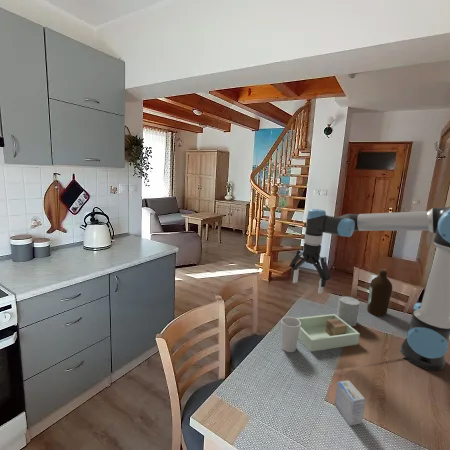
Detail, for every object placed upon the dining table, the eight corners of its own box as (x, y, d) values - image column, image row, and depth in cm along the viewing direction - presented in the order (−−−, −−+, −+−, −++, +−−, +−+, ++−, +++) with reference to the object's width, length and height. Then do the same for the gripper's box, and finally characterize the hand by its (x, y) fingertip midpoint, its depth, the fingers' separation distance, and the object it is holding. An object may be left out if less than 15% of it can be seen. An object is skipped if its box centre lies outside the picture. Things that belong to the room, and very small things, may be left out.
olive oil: (387, 311, 154) (395, 268, 149) (387, 319, 145) (395, 274, 140) (366, 305, 159) (373, 264, 154) (365, 313, 150) (372, 269, 145)
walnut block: (344, 337, 125) (346, 325, 124) (333, 339, 123) (335, 327, 122) (336, 330, 131) (337, 318, 130) (325, 331, 129) (326, 320, 128)
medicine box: (362, 424, 83) (366, 399, 81) (349, 426, 82) (353, 401, 80) (345, 402, 90) (349, 379, 88) (333, 404, 89) (337, 381, 88)
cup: (299, 345, 119) (302, 319, 117) (296, 355, 112) (299, 329, 110) (281, 339, 122) (283, 314, 120) (276, 349, 115) (279, 323, 113)
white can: (358, 329, 134) (362, 306, 132) (337, 326, 136) (341, 303, 133) (353, 319, 143) (356, 297, 141) (334, 316, 145) (337, 294, 143)
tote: (357, 345, 121) (359, 333, 120) (310, 353, 114) (311, 340, 113) (333, 324, 137) (334, 313, 136) (289, 330, 130) (291, 318, 129)
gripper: (343, 249, 117) (336, 295, 121) (294, 236, 136) (290, 276, 140) (334, 251, 112) (327, 300, 117) (285, 238, 131) (280, 280, 135)
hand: (307, 287), depth 128 cm, fingers open, 13 cm apart
